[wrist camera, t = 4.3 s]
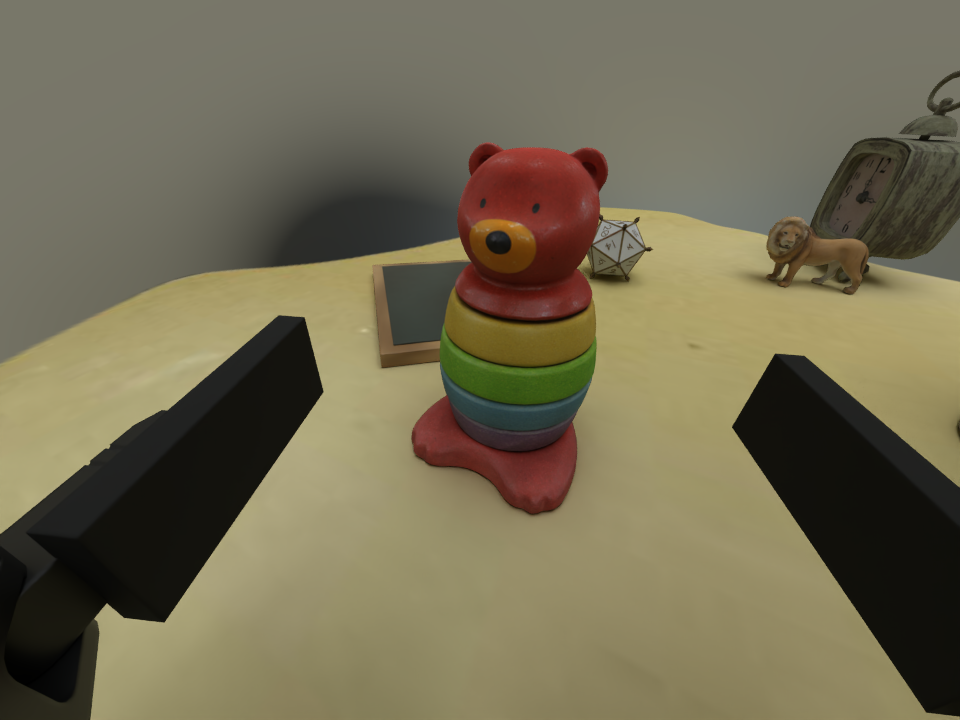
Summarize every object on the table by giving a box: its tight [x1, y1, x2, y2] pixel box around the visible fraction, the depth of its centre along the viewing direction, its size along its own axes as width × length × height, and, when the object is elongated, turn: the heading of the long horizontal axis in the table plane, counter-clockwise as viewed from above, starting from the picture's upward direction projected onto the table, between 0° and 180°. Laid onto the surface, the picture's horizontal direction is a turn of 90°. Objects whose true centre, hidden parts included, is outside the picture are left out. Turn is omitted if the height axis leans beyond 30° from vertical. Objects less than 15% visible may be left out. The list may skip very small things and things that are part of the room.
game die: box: [587, 215, 653, 282], centre depth 50 cm, size 9×8×10 cm
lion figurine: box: [766, 217, 869, 294], centre depth 50 cm, size 15×5×9 cm, turn 85°
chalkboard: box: [373, 260, 472, 368], centre depth 43 cm, size 20×22×2 cm
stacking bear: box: [412, 143, 608, 514], centre depth 21 cm, size 11×10×18 cm
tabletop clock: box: [810, 71, 960, 282], centre depth 51 cm, size 14×9×25 cm, turn 165°
